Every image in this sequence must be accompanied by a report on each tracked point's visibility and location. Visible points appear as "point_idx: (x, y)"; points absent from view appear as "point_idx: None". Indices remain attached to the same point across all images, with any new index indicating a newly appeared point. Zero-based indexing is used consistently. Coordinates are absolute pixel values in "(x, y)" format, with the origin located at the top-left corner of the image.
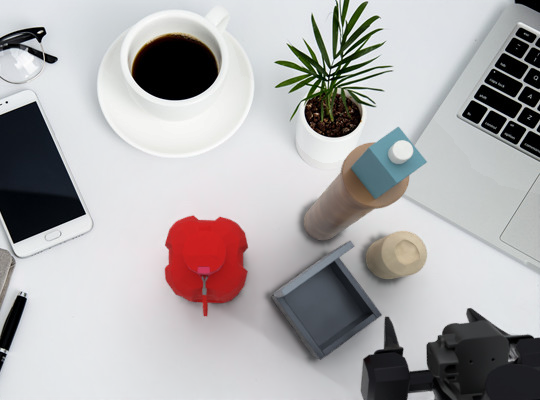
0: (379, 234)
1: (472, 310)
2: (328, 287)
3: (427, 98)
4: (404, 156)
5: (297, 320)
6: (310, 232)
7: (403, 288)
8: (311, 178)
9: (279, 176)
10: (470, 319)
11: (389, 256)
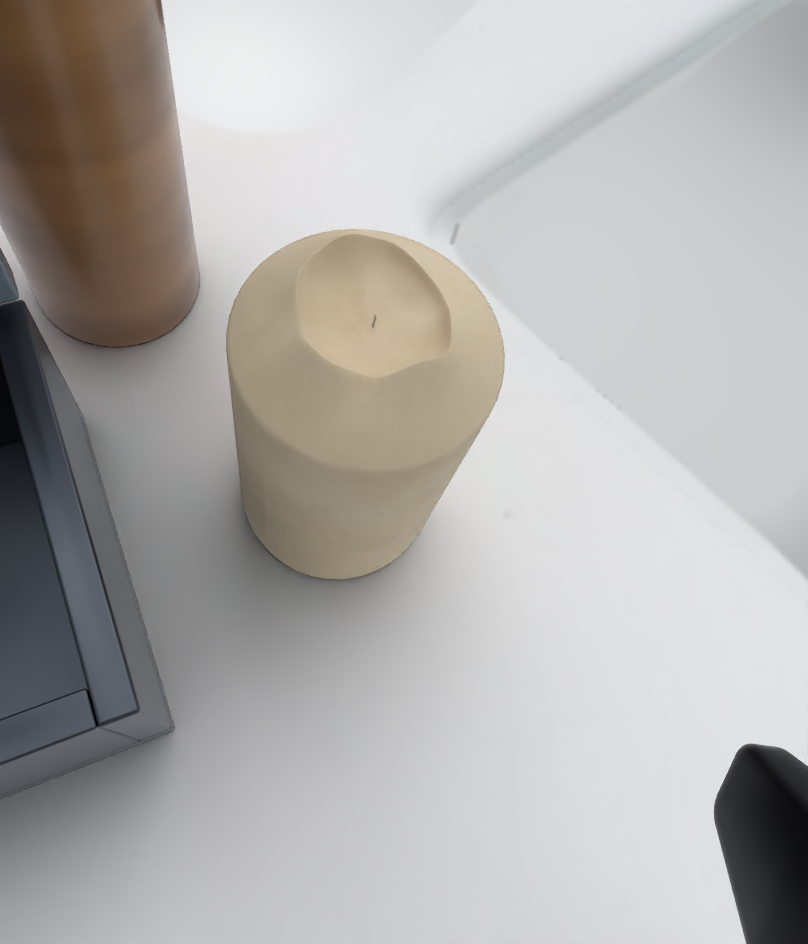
0: None
1: (804, 774)
2: (5, 535)
3: (634, 48)
4: None
5: None
6: (21, 267)
7: (374, 640)
8: None
9: None
10: (767, 877)
11: (262, 313)
